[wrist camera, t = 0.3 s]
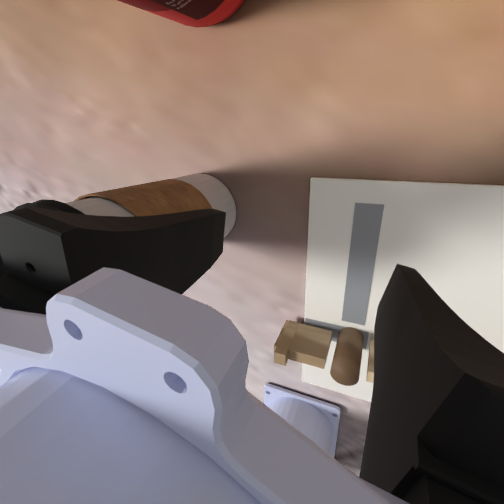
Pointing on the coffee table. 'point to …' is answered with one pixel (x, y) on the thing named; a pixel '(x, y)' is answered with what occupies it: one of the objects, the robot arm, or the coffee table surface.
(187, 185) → the coffee cup
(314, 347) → the wooden pieces
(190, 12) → the canned food
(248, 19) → the coffee table surface
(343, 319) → the card
